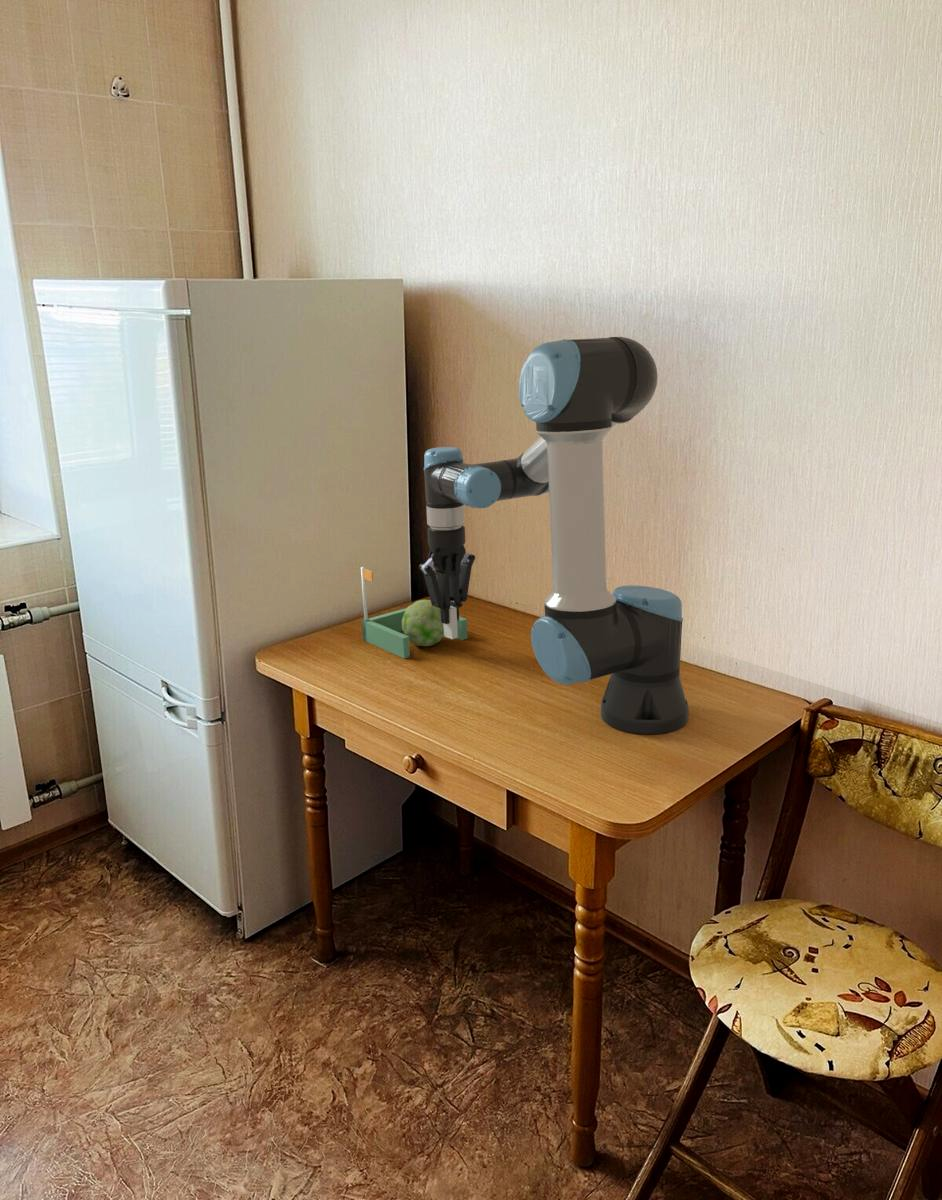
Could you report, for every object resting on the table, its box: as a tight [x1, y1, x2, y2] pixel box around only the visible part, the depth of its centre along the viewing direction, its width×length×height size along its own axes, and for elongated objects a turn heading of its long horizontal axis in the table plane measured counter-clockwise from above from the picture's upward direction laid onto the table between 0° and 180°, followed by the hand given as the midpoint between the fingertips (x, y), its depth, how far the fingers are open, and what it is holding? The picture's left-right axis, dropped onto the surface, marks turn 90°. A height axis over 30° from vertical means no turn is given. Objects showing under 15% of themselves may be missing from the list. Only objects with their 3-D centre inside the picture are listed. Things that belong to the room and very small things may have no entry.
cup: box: [360, 566, 468, 660], centre depth 206 cm, size 16×17×16 cm
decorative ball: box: [402, 599, 445, 647], centre depth 203 cm, size 10×10×10 cm
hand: (450, 636), depth 197 cm, fingers closed
